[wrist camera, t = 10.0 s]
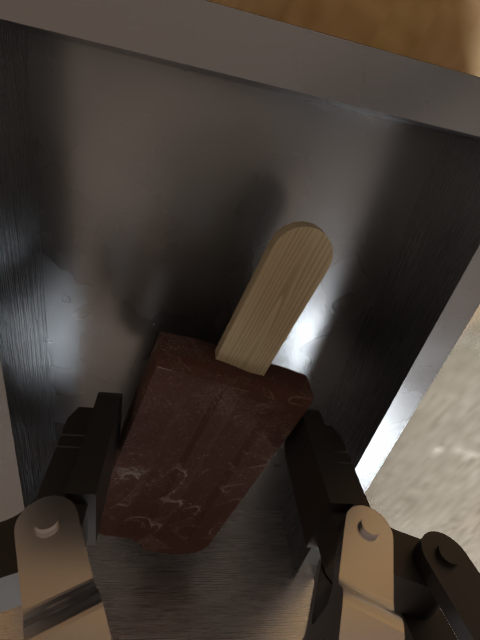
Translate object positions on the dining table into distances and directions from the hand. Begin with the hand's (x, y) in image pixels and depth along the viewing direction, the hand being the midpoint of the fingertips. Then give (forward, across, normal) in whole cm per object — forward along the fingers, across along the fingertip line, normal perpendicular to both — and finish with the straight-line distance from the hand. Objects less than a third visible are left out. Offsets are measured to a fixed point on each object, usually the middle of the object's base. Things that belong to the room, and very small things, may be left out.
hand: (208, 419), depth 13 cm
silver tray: (+4, 0, 0) cm, 4 cm away
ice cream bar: (+1, 0, 0) cm, 1 cm away
